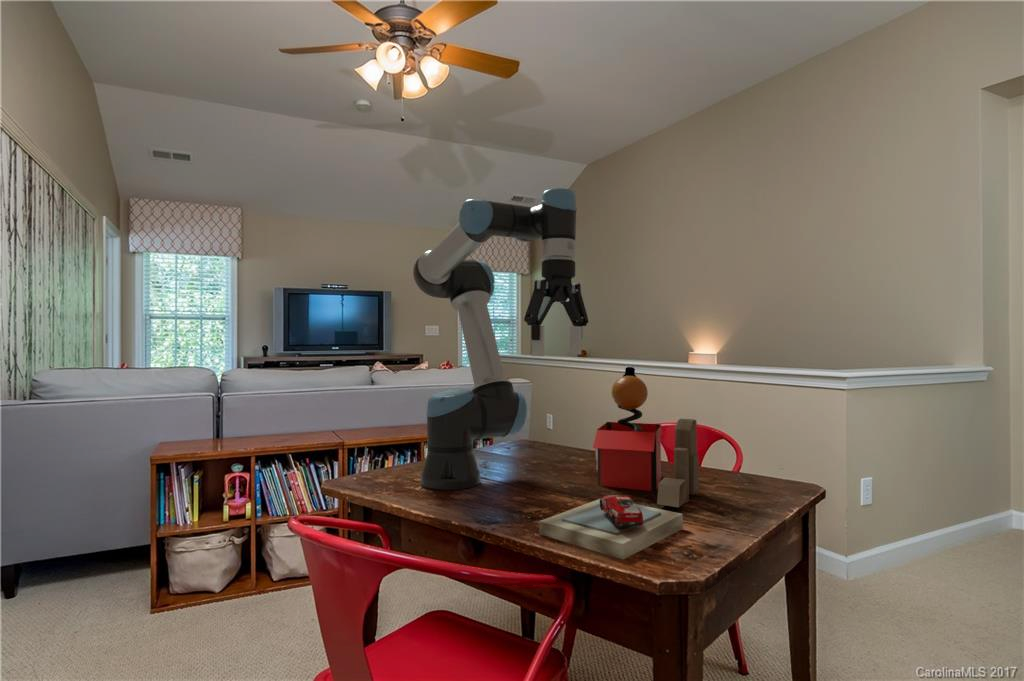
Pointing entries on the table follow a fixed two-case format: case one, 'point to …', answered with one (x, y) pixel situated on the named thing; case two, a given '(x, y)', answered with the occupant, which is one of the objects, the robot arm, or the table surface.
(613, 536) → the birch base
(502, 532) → the table surface
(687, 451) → the wooden block set
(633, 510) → the race car
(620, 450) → the jack-in-the-box
